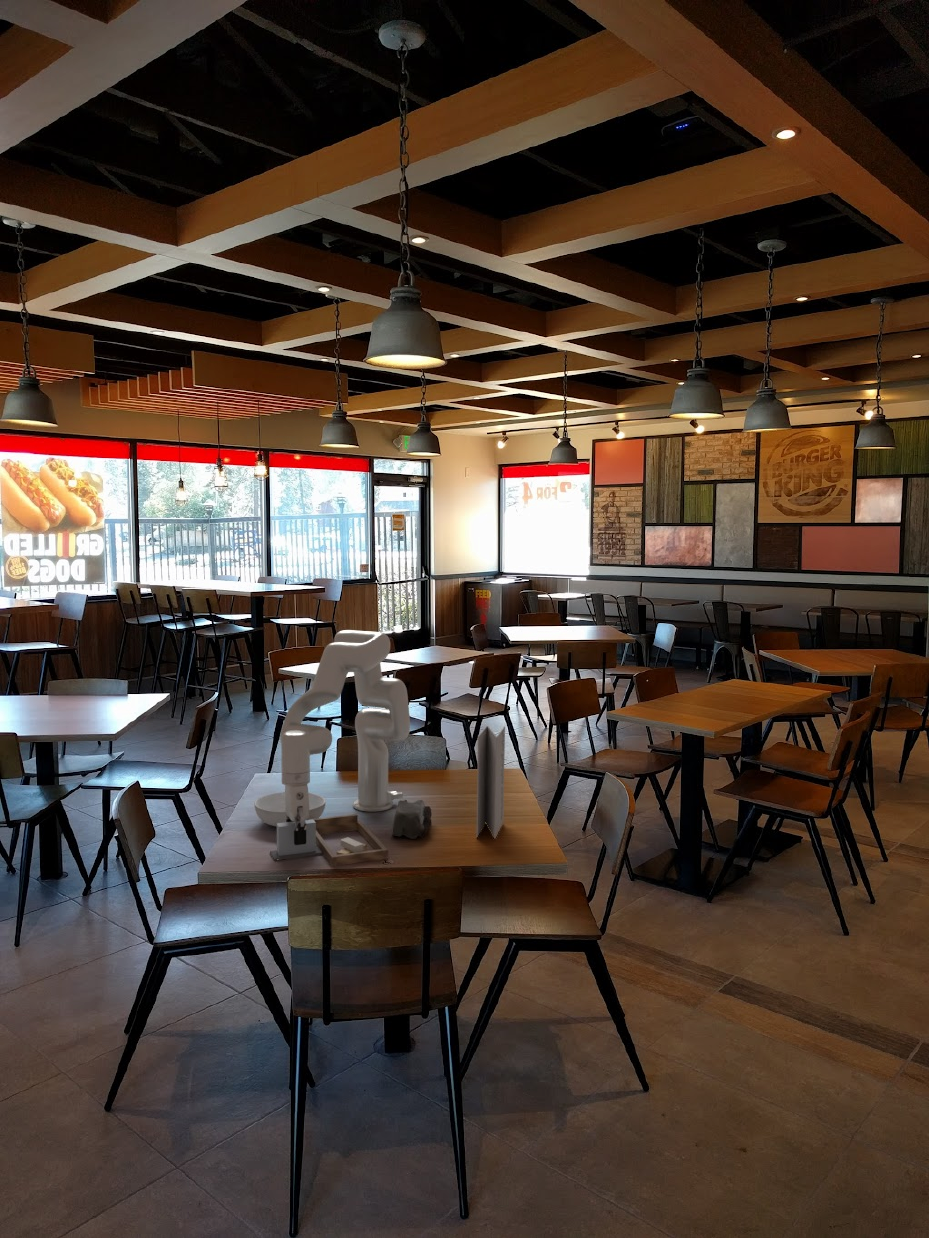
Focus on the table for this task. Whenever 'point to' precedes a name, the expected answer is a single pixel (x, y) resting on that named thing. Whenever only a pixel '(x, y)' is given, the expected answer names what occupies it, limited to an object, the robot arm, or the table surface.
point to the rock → (411, 819)
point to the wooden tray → (343, 825)
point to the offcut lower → (346, 851)
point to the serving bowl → (274, 807)
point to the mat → (306, 854)
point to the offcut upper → (351, 845)
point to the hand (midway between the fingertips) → (296, 838)
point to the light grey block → (287, 838)
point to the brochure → (490, 780)
